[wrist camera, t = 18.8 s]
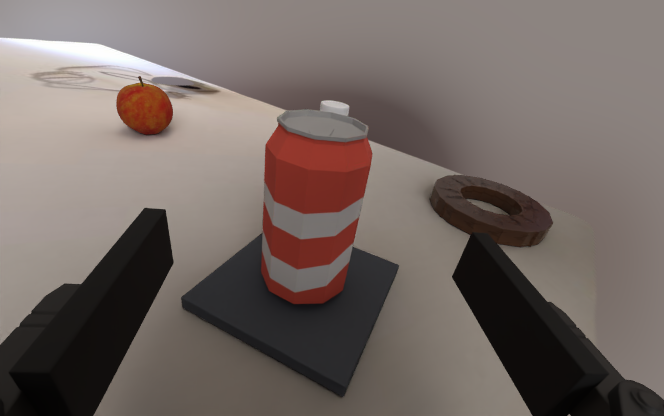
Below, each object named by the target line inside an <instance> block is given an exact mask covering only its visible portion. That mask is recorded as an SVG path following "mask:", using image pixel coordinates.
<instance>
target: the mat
mask: <svg viewBox="0 0 664 416" xmlns="http://www.w3.org/2000/svg"><path fill="white" fill-rule="evenodd" d="M262 235H263V233H262V234H260V235H259V236H258V237H257V238H255V239H254V240H253V241H252V242H250V243H249V244H248V245H247V246H245V247H244V248H243V249H242V250H240V251H239V252H238V253H236V254H235V255H234V256H233V257H231V258H230V259H229V260H228V261H226V262H225V263H224V264H223V265H221V266H220V267H219V268H218V269H216V270H215V271H214V272H213V273H211V274H210V275H209V276H207V277H206V278H205V279H204V280H202V281H201V282H200V283H199V284H197V285H196V286H195V287H194V288H192V289H191V290H190V291H189V292H187V293H186V294H185V295H184V296H182V297H181V300H182V307H183V308H185V309H186V310H188V311H190V312H192V313H194V314H195V315H197V316H199V317H201V318H202V319H204V320H206V321H208V322H210V323H211V324H213V325H215V326H217V327H219V328H220V329H222V330H224V331H226V332H228V333H229V334H231V335H233V336H235V337H237V338H238V339H240V340H242V341H244V342H246V343H247V344H249V345H251V346H253V347H254V348H256V349H258V350H260V351H262V352H263V353H265V354H267V355H269V356H271V357H272V358H274V359H276V360H278V361H280V362H281V363H283V364H285V365H287V366H289V367H290V368H292V369H294V370H296V371H298V372H299V373H301V374H303V375H305V376H306V377H308V378H310V379H312V380H314V381H315V382H317V383H319V384H321V385H323V386H324V387H326V388H328V389H330V390H332V391H333V392H335V393H337V394H339V395H341V396H344V394H345V392H346V389H347V387H348V385H349V382H350V380H351V378H352V376H353V373H354V371H355V369H356V366H357V364H358V362H359V359H360V357H361V355H362V352H363V350H364V348H365V345H366V343H367V341H368V338H369V336H370V334H371V331H372V329H373V327H374V324H375V322H376V320H377V317H378V315H379V313H380V311H381V308H382V306H383V304H384V301H385V299H386V297H387V294H388V292H389V290H390V287H391V285H392V283H393V280H394V278H395V276H396V273H397V270H398V267H399V265H397V264H395V263H392V262H390V261H387V260H385V259H382V258H380V257H377V256H375V255H372V254H370V253H367V252H365V251H362V250H359V249H357V248H354V247H352V252H351V256H350V261H349V265H348V270H347V274H346V279H345V283H344V288H343V291H341V292H340V293H338V294H337V295H335V296H333V297H332V298H330V299H329V300H327V301H326V302H324V303H317V304H293V303H291V302H289V301H287V300H285V299H283V298H281V297H279V296H278V295H276V294H274V293H272V292H270V291H269V289H268V287H267V285H266V282H265V280H264V277H263V275H262V273H261V263H262Z"/></svg>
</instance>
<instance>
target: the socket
mask: <svg viewBox="0 0 664 416" xmlns="http://www.w3.org/2000/svg"><path fill="white" fill-rule="evenodd" d="M469 198H470V199H477V200H481V201H485V202H488V203H491V204H493V205H495V206H497V207H499V208H501V209H503V210H504V211H506V212H507V213H509V214H510V216H508V215H502V214H496V213H493V212H489V211H486V210H483V209H481V208H479V207H477V206H475V205H473V204H471V203H470V202H469V201H467V200H466V199H469ZM430 202H431V204H432V206H433V208H434V210H435V211H436V212H437V213H438V214H439V215H440V217H442V218H444V219H445V220H446V221H447V222H448V223H450V224H452V225H454V226H455V227H457V228H459V229H461V230H463V231H465V232H466V233H468V234H472V232H478V233H488V234H489V235H490V236H491V238H492V239H493V240H494V241H495V242H496V243H497V244H503V245H510V246H517V247H524V246H529V247H531V246H532V245H537V244H539V243H540V241H541V240H542V239H543V238H544V237H545V236H546V234H547V233H548V231H549V229H550V228H551V226H552V224H553V222H552V219H551V216H550V213H549V212H548V211H547V210H546V209H545V208H543V207H542V206H541V205H540V204H539V203H538V202H537V201H535V200H533V199H532V198H530V197H529V196H527V195H525V194H523V193H521V192H520V191H517V190H514V189H512V188H510V187H508V186H505V185H502V184H499V183H496V182H493V181H489V180H486V179H482V178H477V177H470V176H464V175H453V176H445V177H443V178H440V179H438V180H437V181H436V184H435V186H434V189H433V191H432V194H431V197H430Z"/></svg>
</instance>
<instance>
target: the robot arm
mask: <svg viewBox="0 0 664 416" xmlns="http://www.w3.org/2000/svg"><path fill="white" fill-rule="evenodd" d="M172 265H173V256H172V249H171V243H170V236H169V229H168V223H167V216H166V210H165V209H151V208H144V209H143V211H142V212H141V213H140V214H139V215H138V217H137V218H136V219H135V220H134V221H133V223H132V224H131V225H130V226H129V227H128V229H127V230H126V231H125V232H124V234H123V235H122V236H121V237H120V238H119V240H118V241H117V242H116V243H115V244H114V246H113V247H112V248H111V249H110V250H109V252H108V253H107V254H106V255H105V256H104V258H103V259H102V260H101V261H100V262H99V264H98V265H97V266H96V267H95V268H94V270H93V271H92V272H91V273H90V274H89V276H88V277H87V278H86V279H85V281H84V282H83V283H82V284H63V285H62V286H60V287H59V288H57V289H56V290H54V291H53V292H51V293H50V294H48V295H46V296H45V297H44V298H43V299H42V300H41V302H40V303H39V304H38V305H37V306H36V307H35V308H34V309H33V310H32V313H31V314H29V315H28V316H27V317H26V318H25V319H24V320H23V321H22V322H21V323H20V326H19V327H16V329H15V330H14V331H13V332H12V333H11V334H10V335H9V336H8V337H7V338H6V339H5V340H4V342H3V343H2V344H1V345H0V416H93V415H94V413H95V412H96V410H97V408H98V406H99V404H100V402H101V400H102V398H103V396H104V394H105V393H106V391H107V389H108V387H109V385H110V383H111V381H112V379H113V377H114V375H115V373H116V372H117V370H118V368H119V366H120V364H121V362H122V360H123V358H124V356H125V354H126V353H127V351H128V349H129V347H130V345H131V343H132V341H133V339H134V337H135V335H136V333H137V332H138V330H139V328H140V326H141V324H142V322H143V320H144V318H145V316H146V314H147V313H148V311H149V309H150V307H151V305H152V303H153V301H154V299H155V297H156V295H157V293H158V292H159V290H160V288H161V286H162V284H163V282H164V280H165V278H166V276H167V274H168V273H169V271H170V269H171V267H172ZM452 278H453V280H454V281H455V283H456V285H457V287H458V288H459V290H460V292H461V293H462V295H463V297H464V299H465V300H466V302H467V304H468V305H469V307H470V309H471V311H472V312H473V314H474V316H475V317H476V319H477V321H478V323H479V324H480V326H481V328H482V329H483V331H484V333H485V335H486V336H487V338H488V340H489V342H490V343H491V345H492V347H493V348H494V350H495V352H496V354H497V355H498V357H499V359H500V360H501V362H502V364H503V366H504V367H505V369H506V371H507V372H508V374H509V376H510V378H511V379H512V381H513V383H514V384H515V386H516V388H517V390H518V391H519V393H520V395H521V396H522V398H523V400H524V402H525V403H526V405H527V407H528V409H529V410H530V412H531V414H532V415H533V416H567V415H568V414H570V415H571V416H664V400H663V399H662V398H661V397H660V396H659V395H657V394H656V393H655V392H654V391H652V390H651V389H649V388H647V387H646V386H644V385H642V384H640V383H637V382H635V381H632V380H625V379H624V378H623V377H622V376H621V375H620V374H619V372H618V371H617V370H616V369H615V368H614V367H613V366H612V365H611V364H610V362H608V360H607V359H606V358H605V357H604V356H603V355H602V354H601V352H600V351H599V350H598V349H597V348H596V347H595V346H594V345H593V343H592V342H591V341H590V340H589V339H588V338H586V337H585V335H584V333H583V332H582V331H581V330H580V329H579V328H577V327H576V324H575V323H574V322H573V321H572V320H571V319H570V318H569V317H568V316H567V314H566V313H565V312H563V311H562V310H561V309H559V308H558V307H557V306H555V305H554V304H553V303H551V302H547V301H546V300H545V299H544V298H543V296H542V295H541V294H540V293H539V292H538V291H537V290H536V288H535V287H534V286H533V285H532V284H531V283H530V281H529V280H528V279H527V278H526V277H525V276H524V275H523V273H522V272H521V271H520V270H519V269H518V268H517V266H516V265H515V264H514V263H513V262H512V261H511V260H510V258H509V257H508V256H507V255H506V254H505V253H504V251H503V250H502V249H501V248H500V247H499V246H498V245H497V243H496V242H495V241H494V240H493V239H492V238H491V236H490V235H489V234H488V233H478V232H472V234H471V236H470V238H469V240H468V243H467V245H466V247H465V249H464V251H463V254H462V256H461V258H460V260H459V263H458V265H457V267H456V269H455V271H454V274H453V276H452Z"/></svg>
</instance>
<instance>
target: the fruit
mask: <svg viewBox="0 0 664 416" xmlns="http://www.w3.org/2000/svg"><path fill="white" fill-rule="evenodd" d="M138 78H139V80H140V82H141V83H136V84H132V85H128V86H126V87H124V88H122V89H121V90H120V92H119V93H118V96H117V103H116V104H117V111H118V114H119V116H120V118H121V120H122V121H123V122H124V123H125V124H126V125H127V126H128V127H130V128H132V129H134V130H135V131H138V132H140V133H142V134H145V135H148V134H157V133H159V132H160V131H162V130H163V129H165V128H166V127H167V126H168V125H169V124H170V122H171V120H172V116H173V109H172V105H171V102H170V99H169V98H168V96H167V95H166V93H165V92H164V91H163V90H161V89H160V88H158V87H156V86H154V85H150V84H145V83H143V82H142V79H141V76H139V77H138Z"/></svg>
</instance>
